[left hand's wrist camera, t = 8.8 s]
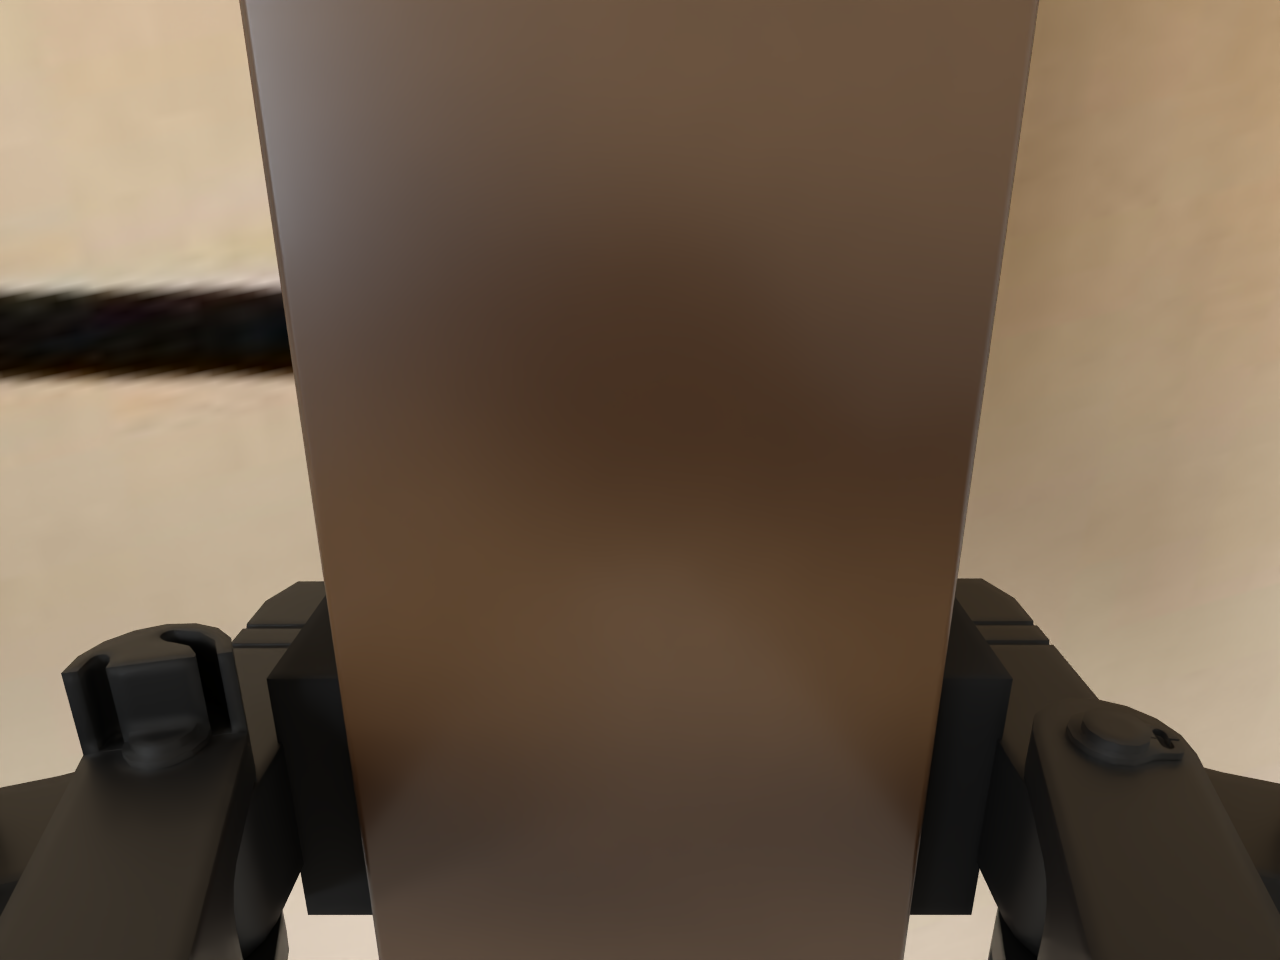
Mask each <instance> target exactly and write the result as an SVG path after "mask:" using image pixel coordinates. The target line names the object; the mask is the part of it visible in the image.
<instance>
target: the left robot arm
mask: <svg viewBox="0 0 1280 960" xmlns="http://www.w3.org/2000/svg"><path fill="white" fill-rule="evenodd" d="M61 674H62V678H63V682H64V685H65V689H66V693H67V696H68V700H69V704H70V707H71V711H72V715H73V718H74V722H75V726H76V729H77V733H78V737H79V740H80V744H81V748H82V751H83V757H82V759H81V761H80V763H79V765H78V767H77V769H76V771H75V772H73V773H69V774H65V775H61V776H57V777H52V778H47V779H42V780H37V781H32V782H27V783H22V784H17V785H12V786H7V787H2V788H0V960H288V953H289V946H288V938H287V931H286V925H285V920H284V915H283V908H284V906H285V903H286V901H287V899H288V897H289V895H290V893H291V891H292V889H293V886H294V884H295V882H296V880H297V878H298V876H299V874H300V872H301V877H302V883H303V889H304V894H305V900H306V906H307V911H308V915H373V913H372V906H371V899H370V893H369V886H368V879H367V872H366V865H365V858H364V851H363V845H362V838H361V831H360V824H359V817H358V810H357V804H356V797H355V790H354V783H353V776H352V769H351V762H350V756H349V749H348V742H347V735H346V728H345V721H344V714H343V708H342V701H341V694H340V687H339V680H338V673H337V666H336V660H335V653H334V646H333V639H332V632H331V625H330V618H329V612H328V605H327V598H326V591H325V584H324V582H297V583H295V584H293V585H292V586H290V587H288V588H287V589H285V590H283V591H282V592H280V593H278V594H277V595H275V596H273V597H272V598H270V599H268V600H267V601H265V603H264V604H263V605H262V606H261V608H260V609H259V610H258V611H257V612H256V614H255V615H254V616H253V617H252V618H251V620H250V621H249V622H248V623H247V628H246V629H242V630H241V632H240V633H239V634H238V635H237V637H236V638H235V639H234V640H233V641H231V638H230V637H229V636H228V635H226V634H225V633H224V632H223V631H221V630H220V629H219V628H215V627H211V626H206V625H201V624H196V623H192V624H166V625H160V626H155V627H150V628H145V629H140V630H135V631H132V632H130V633H127V634H124V635H121V636H119V637H116V638H113V639H110V640H107V641H105V642H103V643H101V644H99V645H97V646H96V647H94V648H92V649H90V650H89V651H87V652H85V653H83V654H82V655H80V656H78V657H77V658H76V659H75V660H74V661H73V662H72V663H71V664H70V665H69V666H68V667H67V668H66V669H65V670H64V671H63V672H62V673H61ZM979 868H980V870H981V872H982V875H983V877H984V879H985V881H986V883H987V885H988V887H989V889H990V891H991V894H992V896H993V898H994V900H995V902H996V904H997V906H998V909H997V915H996V920H995V925H994V930H993V936H992V941H991V946H990V952H989V957H988V960H1280V784H1279V783H1274V782H1268V781H1263V780H1258V779H1253V778H1248V777H1243V776H1238V775H1233V774H1228V773H1223V772H1219V771H1215V770H1211V769H1207V768H1204V767H1203V765H1202V763H1201V761H1200V759H1199V757H1198V756H1197V754H1196V753H1195V751H1194V750H1193V749H1192V748H1191V747H1190V745H1189V744H1188V743H1187V742H1186V741H1185V739H1184V738H1183V737H1182V736H1181V735H1180V734H1178V733H1177V732H1175V731H1174V730H1173V729H1171V728H1170V727H1168V726H1167V725H1165V724H1164V723H1162V722H1161V721H1159V720H1158V719H1156V718H1154V717H1151V716H1149V715H1147V714H1144V713H1142V712H1139V711H1137V710H1135V709H1132V708H1130V707H1128V706H1124V705H1119V704H1115V703H1111V702H1106V701H1102V700H1099V699H1098V698H1097V697H1096V696H1095V694H1094V693H1093V692H1092V691H1091V690H1090V688H1089V687H1088V686H1087V685H1086V684H1085V682H1084V681H1083V680H1082V679H1081V678H1080V676H1079V675H1078V674H1077V673H1076V672H1075V670H1074V669H1073V668H1072V667H1071V666H1070V664H1069V663H1068V662H1067V661H1066V660H1065V658H1064V657H1063V656H1062V655H1061V654H1060V652H1059V651H1058V650H1057V649H1056V648H1055V646H1054V645H1049V639H1048V638H1047V637H1046V636H1045V634H1044V633H1043V632H1042V631H1041V630H1040V628H1039V627H1038V626H1037V625H1033V620H1032V619H1031V618H1030V616H1029V615H1028V614H1027V613H1026V612H1025V610H1024V609H1023V608H1022V607H1021V606H1020V604H1019V603H1018V602H1017V601H1016V600H1015V598H1013V597H1012V596H1010V595H1008V594H1007V593H1005V592H1003V591H1002V590H1000V589H998V588H997V587H995V586H993V585H992V584H990V583H988V582H987V581H985V580H983V579H957V584H956V591H955V598H954V605H953V612H952V619H951V626H950V633H949V640H948V647H947V655H946V662H945V669H944V676H943V683H942V690H941V697H940V704H939V711H938V718H937V725H936V732H935V739H934V746H933V753H932V761H931V768H930V775H929V782H928V789H927V796H926V803H925V810H924V817H923V824H922V831H921V838H920V845H919V852H918V860H917V867H916V874H915V881H914V888H913V895H912V902H911V909H910V915H971V914H972V908H973V902H974V897H975V891H976V885H977V880H978V874H979Z"/></svg>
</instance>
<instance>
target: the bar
mask: <svg viewBox="0 0 1280 960" xmlns="http://www.w3.org/2000/svg"><path fill="white" fill-rule="evenodd" d="M239 2H240V9H241V15H242V22H243V29H244V36H245V43H246V50H247V57H248V63H249V70H250V77H251V84H252V91H253V98H254V105H255V111H256V118H257V125H258V132H259V139H260V146H261V153H262V159H263V166H264V173H265V180H266V187H267V194H268V200H269V207H270V214H271V221H272V228H273V235H274V242H275V248H276V255H277V262H278V269H279V276H280V283H281V290H282V296H283V303H284V310H285V317H286V324H287V331H288V338H289V344H290V351H291V358H292V365H293V372H294V379H295V386H296V392H297V399H298V406H299V413H300V420H301V427H302V433H303V440H304V447H305V454H306V461H307V468H308V475H309V481H310V488H311V495H312V502H313V509H314V516H315V523H316V529H317V536H318V543H319V550H320V557H321V564H322V571H323V577H324V584H325V591H326V598H327V605H328V612H329V618H330V625H331V632H332V639H333V646H334V653H335V660H336V666H337V673H338V680H339V687H340V694H341V701H342V708H343V714H344V721H345V728H346V735H347V742H348V749H349V756H350V762H351V769H352V776H353V783H354V790H355V797H356V804H357V810H358V817H359V824H360V831H361V838H362V845H363V851H364V858H365V865H366V872H367V879H368V886H369V893H370V899H371V906H372V913H373V920H374V927H375V934H376V941H377V947H378V954H379V960H903V958H904V951H905V944H906V937H907V930H908V923H909V916H910V909H911V902H912V895H913V888H914V881H915V874H916V867H917V860H918V852H919V845H920V838H921V831H922V824H923V817H924V810H925V803H926V796H927V789H928V782H929V775H930V768H931V761H932V753H933V746H934V739H935V732H936V725H937V718H938V711H939V704H940V697H941V690H942V683H943V676H944V669H945V662H946V655H947V647H948V640H949V633H950V626H951V619H952V612H953V605H954V598H955V591H956V584H957V577H958V570H959V563H960V556H961V548H962V541H963V534H964V527H965V520H966V513H967V506H968V499H969V492H970V485H971V478H972V471H973V464H974V457H975V450H976V442H977V435H978V428H979V421H980V414H981V407H982V400H983V393H984V386H985V379H986V372H987V365H988V358H989V351H990V343H991V336H992V329H993V322H994V315H995V308H996V301H997V294H998V287H999V280H1000V273H1001V266H1002V259H1003V252H1004V245H1005V237H1006V230H1007V223H1008V216H1009V209H1010V202H1011V195H1012V188H1013V181H1014V174H1015V167H1016V160H1017V153H1018V146H1019V139H1020V131H1021V124H1022V117H1023V110H1024V103H1025V96H1026V89H1027V82H1028V75H1029V68H1030V61H1031V54H1032V47H1033V40H1034V32H1035V25H1036V18H1037V11H1038V4H1039V0H239Z"/></svg>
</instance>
